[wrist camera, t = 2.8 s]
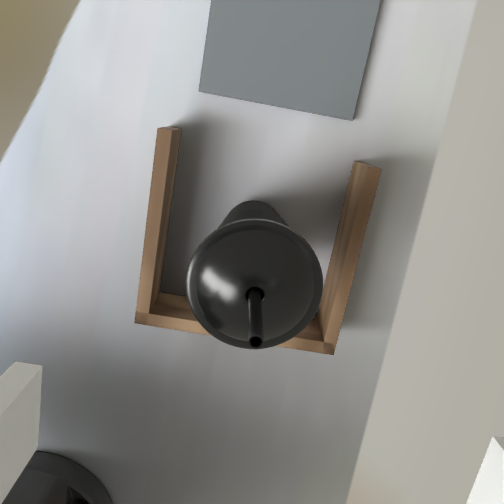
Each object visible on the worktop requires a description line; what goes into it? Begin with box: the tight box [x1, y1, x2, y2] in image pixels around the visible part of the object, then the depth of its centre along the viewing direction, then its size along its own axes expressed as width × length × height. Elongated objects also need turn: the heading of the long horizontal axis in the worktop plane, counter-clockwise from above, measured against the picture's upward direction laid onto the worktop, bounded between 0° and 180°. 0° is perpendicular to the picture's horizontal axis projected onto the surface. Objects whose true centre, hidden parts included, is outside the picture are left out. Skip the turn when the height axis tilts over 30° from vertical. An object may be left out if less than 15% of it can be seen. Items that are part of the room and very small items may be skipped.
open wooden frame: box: [135, 127, 382, 355], centre depth 36 cm, size 16×15×4 cm
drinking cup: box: [186, 201, 323, 349], centre depth 29 cm, size 8×8×20 cm
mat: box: [199, 0, 381, 121], centre depth 34 cm, size 12×12×1 cm
